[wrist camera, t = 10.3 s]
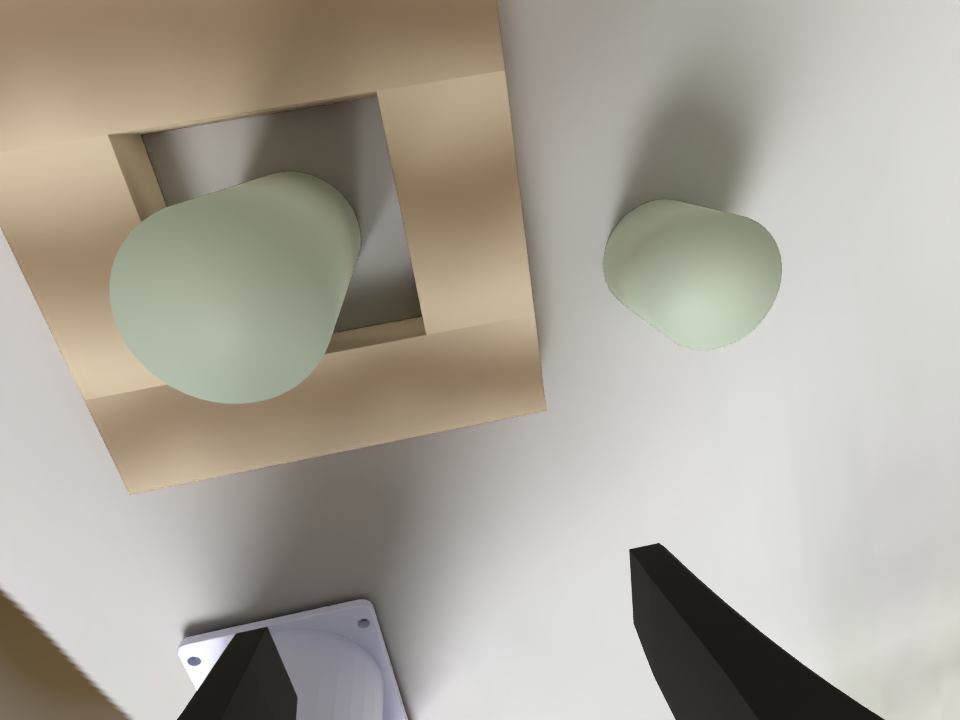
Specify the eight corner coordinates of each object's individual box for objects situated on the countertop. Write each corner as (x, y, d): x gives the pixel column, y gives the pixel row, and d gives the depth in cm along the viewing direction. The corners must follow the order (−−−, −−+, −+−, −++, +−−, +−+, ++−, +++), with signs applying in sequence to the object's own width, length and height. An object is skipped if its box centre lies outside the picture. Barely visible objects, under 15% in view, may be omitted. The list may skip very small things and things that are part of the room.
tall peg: (376, 280, 19) (361, 373, 11) (260, 311, 19) (169, 426, 11) (337, 156, 17) (289, 174, 10) (209, 190, 17) (66, 232, 10)
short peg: (711, 300, 21) (778, 336, 17) (606, 320, 21) (652, 361, 17) (712, 189, 19) (786, 202, 16) (599, 210, 19) (647, 228, 15)
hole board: (533, 386, 21) (546, 410, 19) (154, 462, 20) (129, 495, 18) (475, -62, 16) (485, -89, 14) (-47, 14, 15) (-111, -3, 13)
